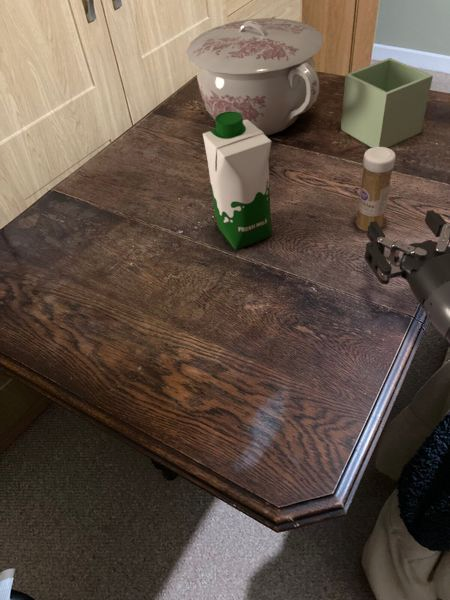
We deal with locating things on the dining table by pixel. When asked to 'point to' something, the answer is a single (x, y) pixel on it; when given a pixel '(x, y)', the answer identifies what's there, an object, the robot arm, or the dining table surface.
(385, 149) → the sprinkles bottle
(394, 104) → the bin
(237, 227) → the milk carton
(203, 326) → the dining table surface
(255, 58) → the chamber pot
